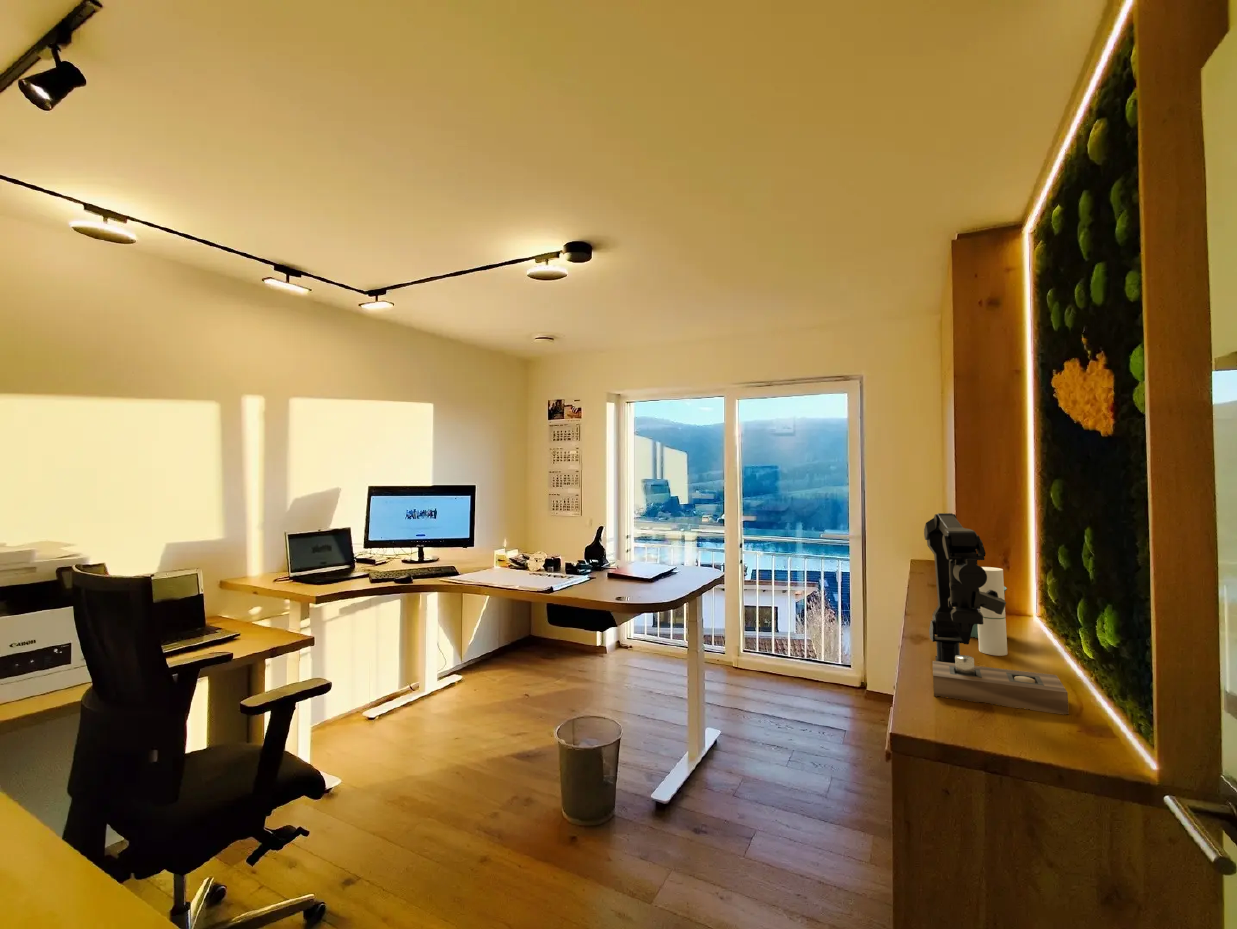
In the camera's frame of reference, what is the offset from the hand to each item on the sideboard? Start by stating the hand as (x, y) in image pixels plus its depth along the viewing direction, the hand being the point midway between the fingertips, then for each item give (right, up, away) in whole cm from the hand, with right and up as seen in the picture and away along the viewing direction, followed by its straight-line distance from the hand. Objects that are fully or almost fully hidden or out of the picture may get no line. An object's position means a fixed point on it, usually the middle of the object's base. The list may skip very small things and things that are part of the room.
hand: (966, 644), depth 137 cm
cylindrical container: (+27, -12, +29) cm, 42 cm away
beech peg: (+10, -11, -6) cm, 16 cm away
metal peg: (0, -8, 0) cm, 8 cm away
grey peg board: (+5, -12, -3) cm, 13 cm away
